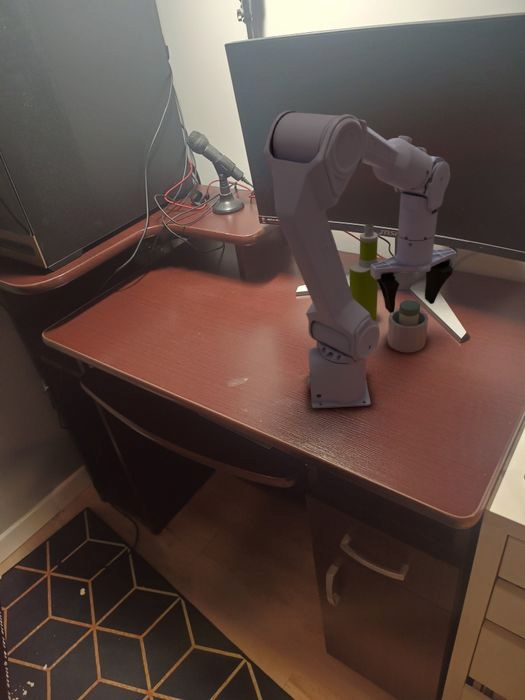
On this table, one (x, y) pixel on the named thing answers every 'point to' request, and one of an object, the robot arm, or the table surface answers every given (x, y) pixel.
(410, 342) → the light grey round cup
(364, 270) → the vape
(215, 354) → the table surface
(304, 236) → the robot arm
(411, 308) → the cylinder
